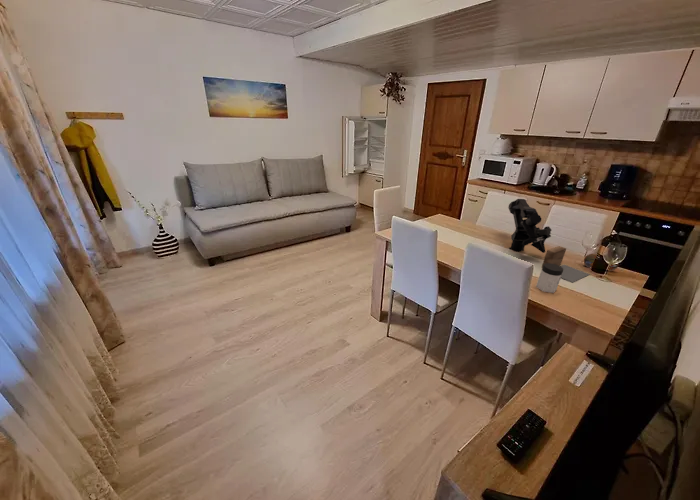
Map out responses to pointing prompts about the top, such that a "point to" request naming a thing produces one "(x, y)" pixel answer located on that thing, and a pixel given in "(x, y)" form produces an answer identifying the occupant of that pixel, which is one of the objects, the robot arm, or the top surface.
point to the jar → (549, 277)
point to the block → (554, 256)
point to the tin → (590, 259)
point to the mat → (572, 274)
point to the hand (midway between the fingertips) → (544, 252)
